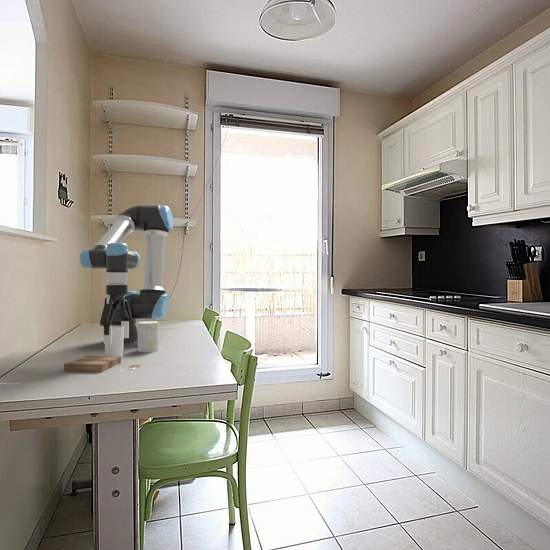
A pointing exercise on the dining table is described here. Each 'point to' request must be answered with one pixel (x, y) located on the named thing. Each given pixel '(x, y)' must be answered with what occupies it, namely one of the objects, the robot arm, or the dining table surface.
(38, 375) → the dining table surface
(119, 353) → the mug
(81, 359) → the base brick
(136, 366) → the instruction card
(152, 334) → the cup
